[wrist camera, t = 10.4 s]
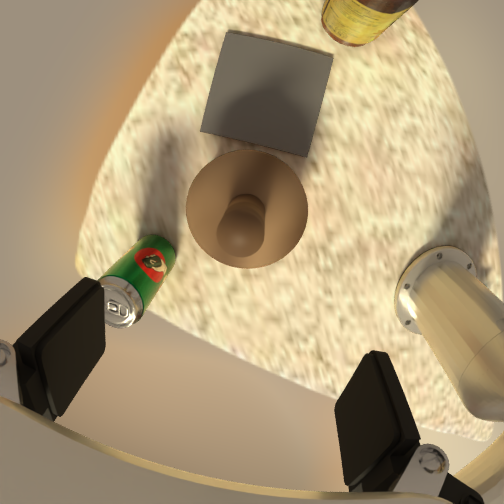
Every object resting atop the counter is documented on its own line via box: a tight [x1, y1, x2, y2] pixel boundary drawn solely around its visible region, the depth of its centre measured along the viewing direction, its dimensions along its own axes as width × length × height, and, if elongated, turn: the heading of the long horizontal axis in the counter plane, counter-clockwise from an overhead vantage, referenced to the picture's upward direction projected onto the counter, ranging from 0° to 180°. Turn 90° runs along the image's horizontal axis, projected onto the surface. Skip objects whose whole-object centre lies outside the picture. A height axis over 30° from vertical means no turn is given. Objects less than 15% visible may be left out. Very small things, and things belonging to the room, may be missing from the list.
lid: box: [186, 150, 308, 269], centre depth 24 cm, size 10×10×7 cm
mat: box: [200, 32, 333, 157], centre depth 28 cm, size 11×11×1 cm
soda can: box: [98, 235, 175, 328], centre depth 30 cm, size 5×5×12 cm
